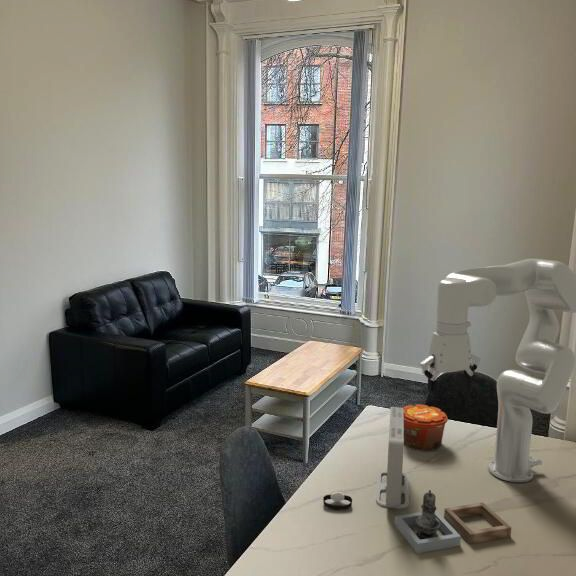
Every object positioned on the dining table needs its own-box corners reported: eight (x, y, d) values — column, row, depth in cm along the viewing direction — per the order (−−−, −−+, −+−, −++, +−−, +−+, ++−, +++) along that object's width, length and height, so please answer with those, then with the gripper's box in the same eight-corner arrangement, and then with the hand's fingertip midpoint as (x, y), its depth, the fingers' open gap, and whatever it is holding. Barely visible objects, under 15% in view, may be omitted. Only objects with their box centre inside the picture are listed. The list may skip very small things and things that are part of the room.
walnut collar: (482, 511, 145) (482, 502, 144) (510, 536, 134) (511, 527, 134) (444, 517, 142) (444, 508, 141) (469, 544, 131) (470, 534, 131)
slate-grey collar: (435, 518, 141) (435, 509, 141) (460, 545, 130) (460, 536, 130) (394, 525, 138) (395, 516, 138) (417, 553, 127) (417, 543, 127)
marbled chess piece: (411, 528, 137) (414, 483, 135) (434, 527, 137) (437, 483, 135) (419, 543, 131) (422, 496, 129) (443, 542, 132) (446, 495, 130)
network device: (408, 517, 142) (412, 444, 138) (374, 512, 143) (377, 440, 140) (407, 469, 166) (411, 406, 163) (378, 466, 168) (381, 404, 165)
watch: (351, 502, 149) (351, 489, 148) (352, 512, 144) (353, 499, 143) (322, 501, 149) (323, 488, 148) (323, 510, 144) (323, 498, 144)
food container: (414, 428, 196) (416, 400, 194) (455, 443, 184) (457, 413, 183) (387, 441, 185) (388, 411, 184) (428, 458, 174) (430, 426, 172)
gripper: (472, 321, 146) (469, 382, 149) (413, 327, 141) (412, 390, 144) (489, 328, 139) (486, 392, 142) (429, 334, 134) (427, 400, 137)
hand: (448, 391), depth 143 cm, fingers open, 9 cm apart
